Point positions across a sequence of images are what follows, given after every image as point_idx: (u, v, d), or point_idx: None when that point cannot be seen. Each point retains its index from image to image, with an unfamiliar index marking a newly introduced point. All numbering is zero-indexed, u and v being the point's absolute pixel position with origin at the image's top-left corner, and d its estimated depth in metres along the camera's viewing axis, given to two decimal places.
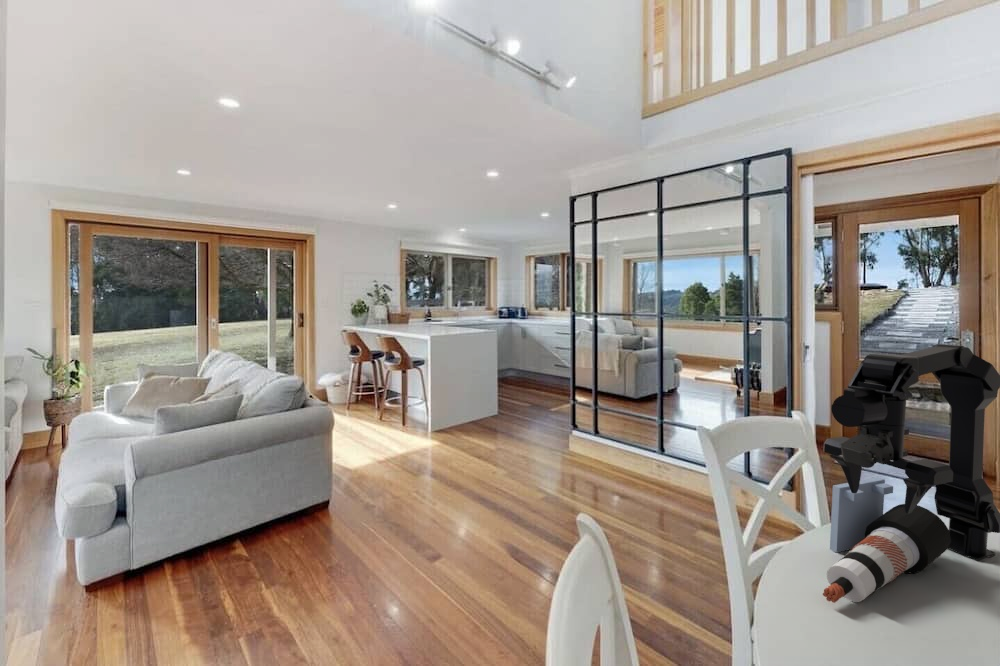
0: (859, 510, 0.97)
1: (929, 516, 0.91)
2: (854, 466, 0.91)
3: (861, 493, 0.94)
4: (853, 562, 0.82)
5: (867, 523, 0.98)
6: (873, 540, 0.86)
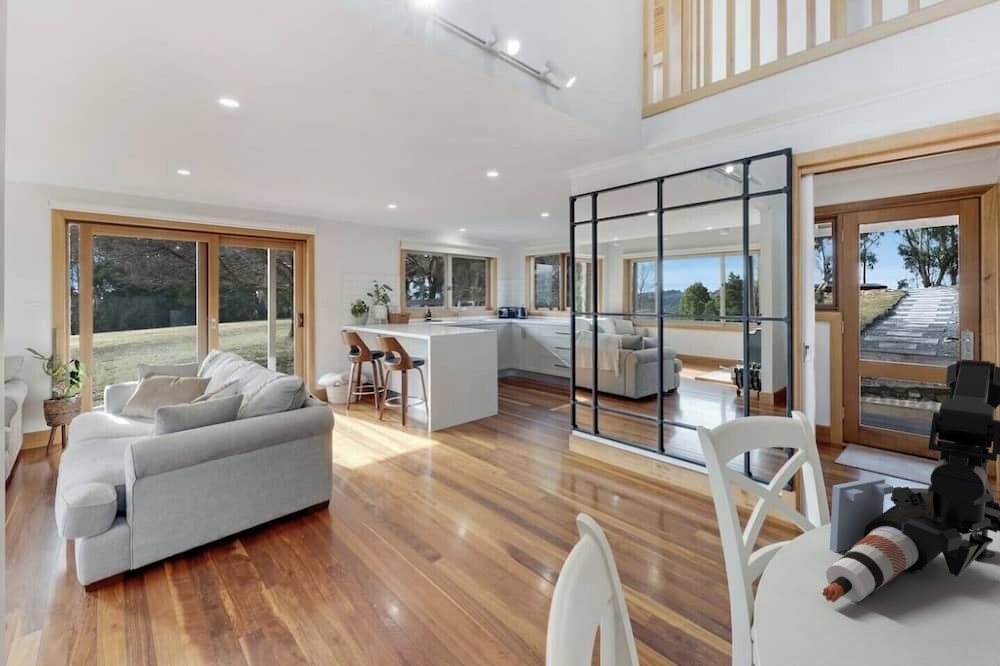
0: (859, 510, 0.97)
1: (927, 515, 0.91)
2: None
3: (861, 493, 0.94)
4: (852, 562, 0.82)
5: (867, 523, 0.98)
6: (872, 539, 0.87)
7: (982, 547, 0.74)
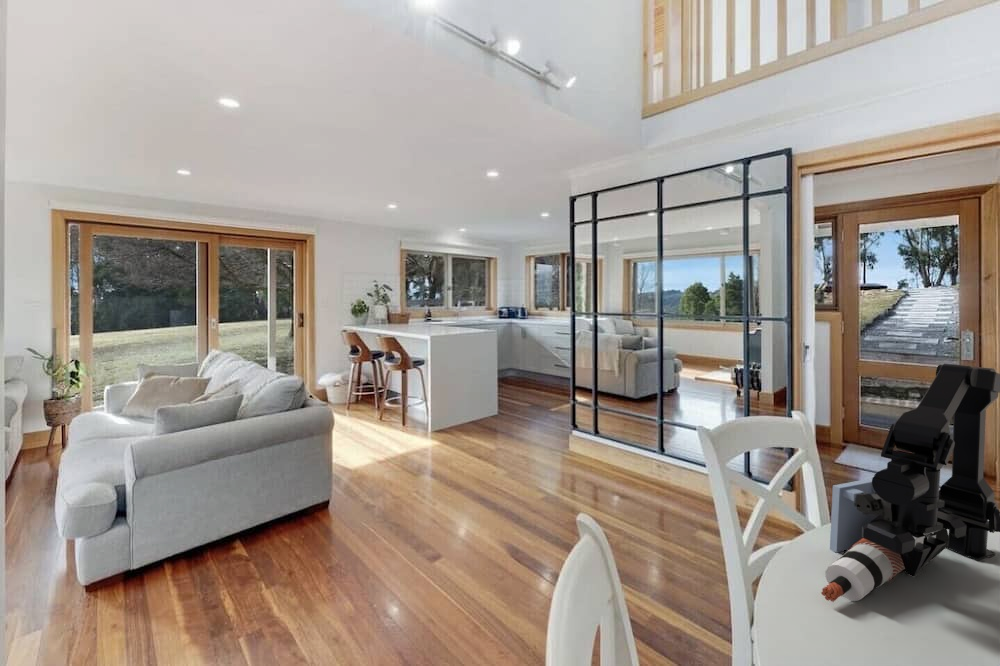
0: None
1: None
2: None
3: None
4: (851, 561, 0.82)
5: (867, 523, 0.98)
6: None
7: (935, 549, 0.79)
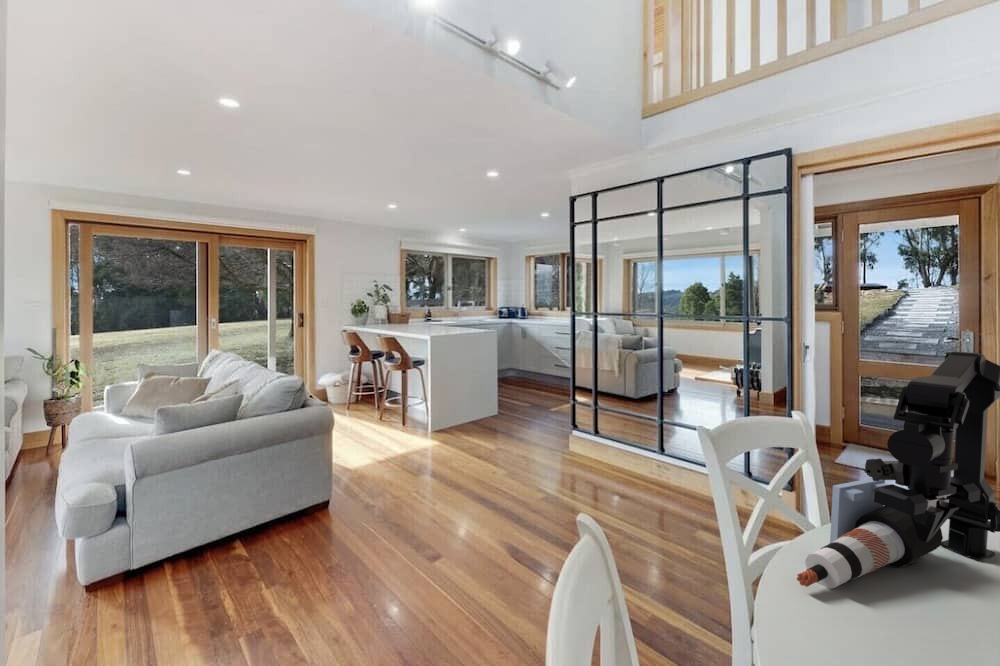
0: (859, 510, 0.97)
1: None
2: None
3: (861, 493, 0.94)
4: (830, 551, 0.85)
5: None
6: (856, 532, 0.89)
7: (948, 513, 0.77)
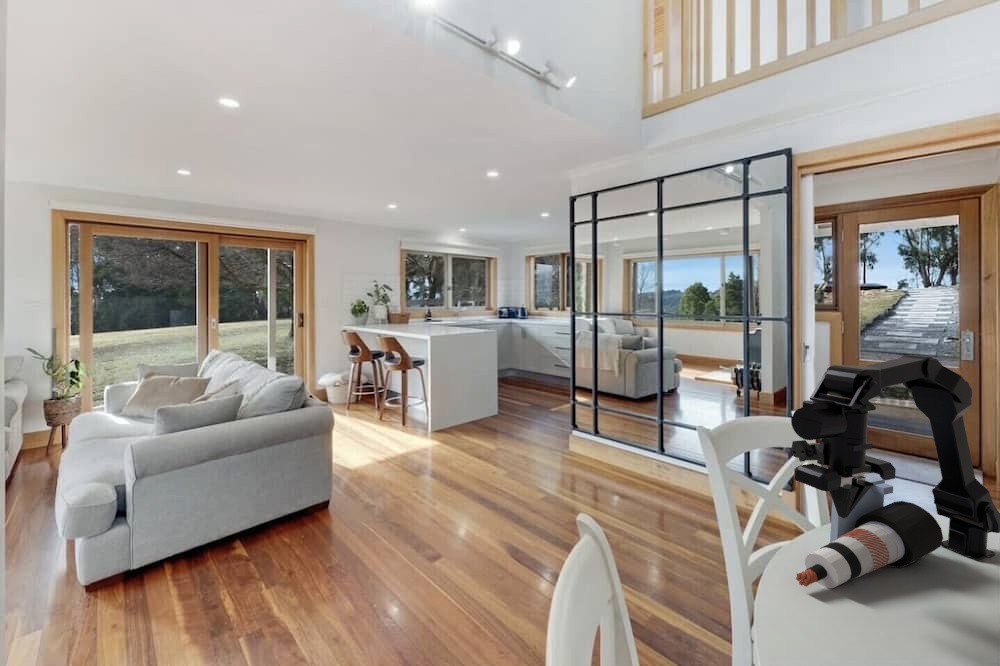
0: (859, 510, 0.97)
1: (920, 513, 0.92)
2: None
3: None
4: (830, 551, 0.85)
5: None
6: (856, 532, 0.89)
7: (863, 490, 0.82)
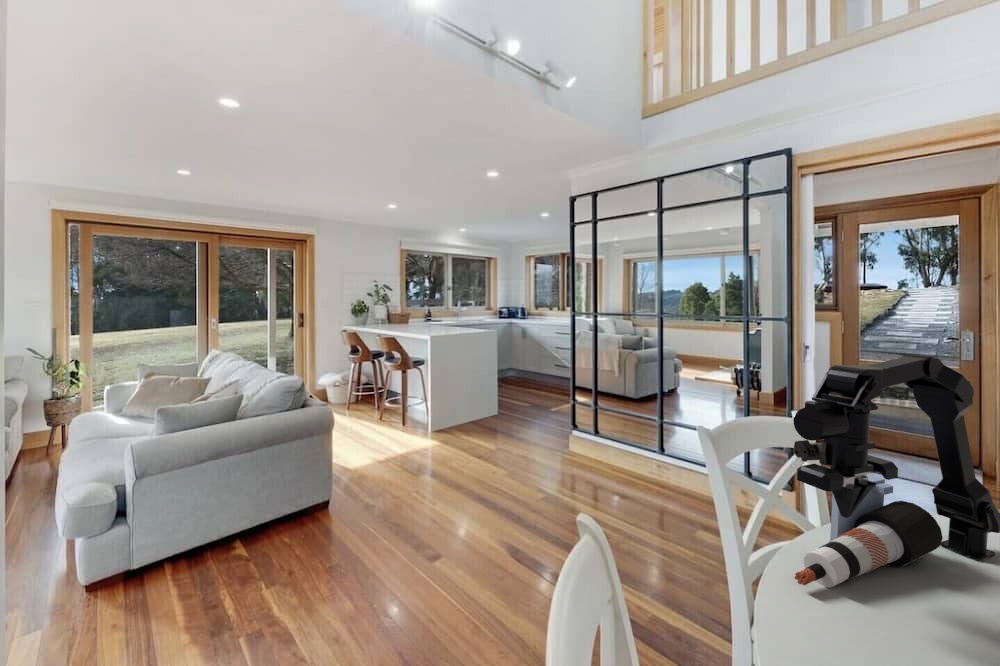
0: (859, 510, 0.97)
1: (919, 512, 0.92)
2: None
3: None
4: (829, 550, 0.85)
5: None
6: (855, 532, 0.89)
7: (866, 490, 0.82)
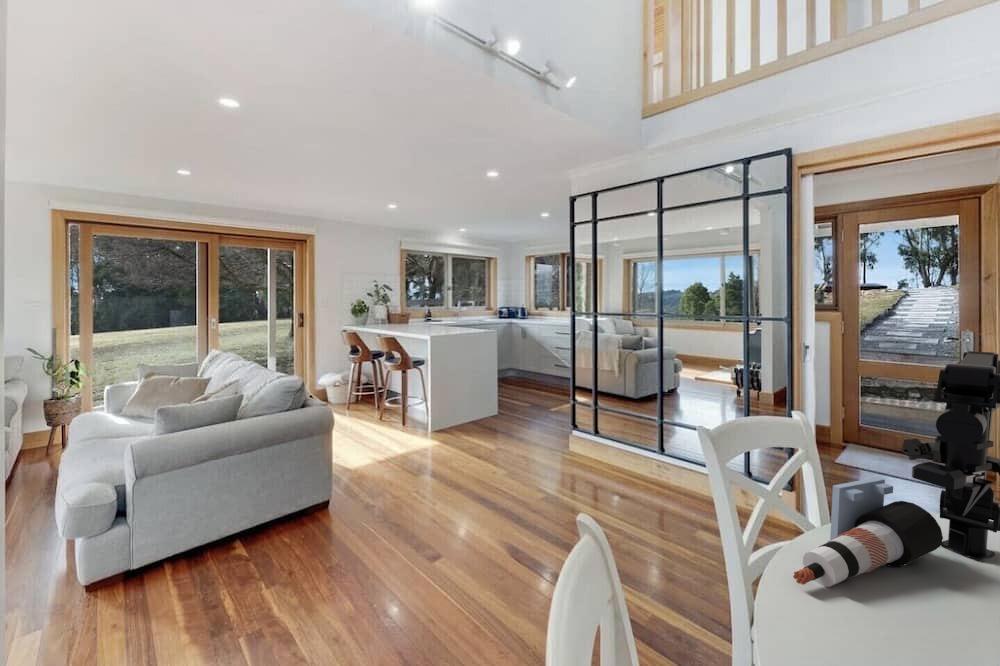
0: (859, 510, 0.97)
1: (920, 512, 0.92)
2: None
3: (861, 493, 0.94)
4: (827, 549, 0.86)
5: None
6: (855, 532, 0.90)
7: (984, 488, 0.82)
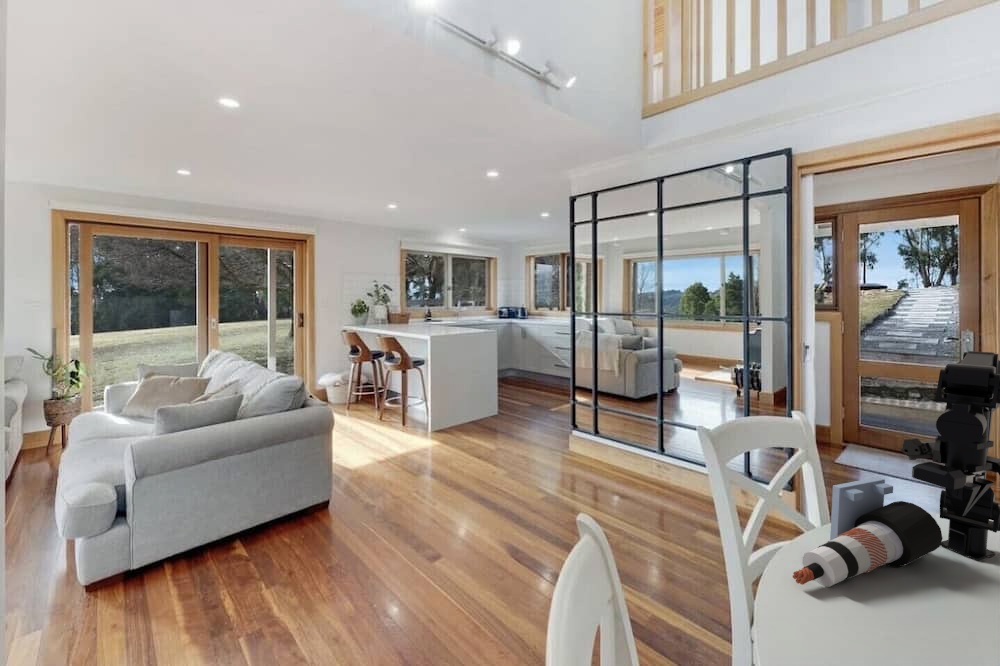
0: (859, 510, 0.97)
1: (919, 513, 0.92)
2: None
3: (861, 493, 0.94)
4: (827, 550, 0.86)
5: None
6: (854, 532, 0.90)
7: (984, 488, 0.82)
